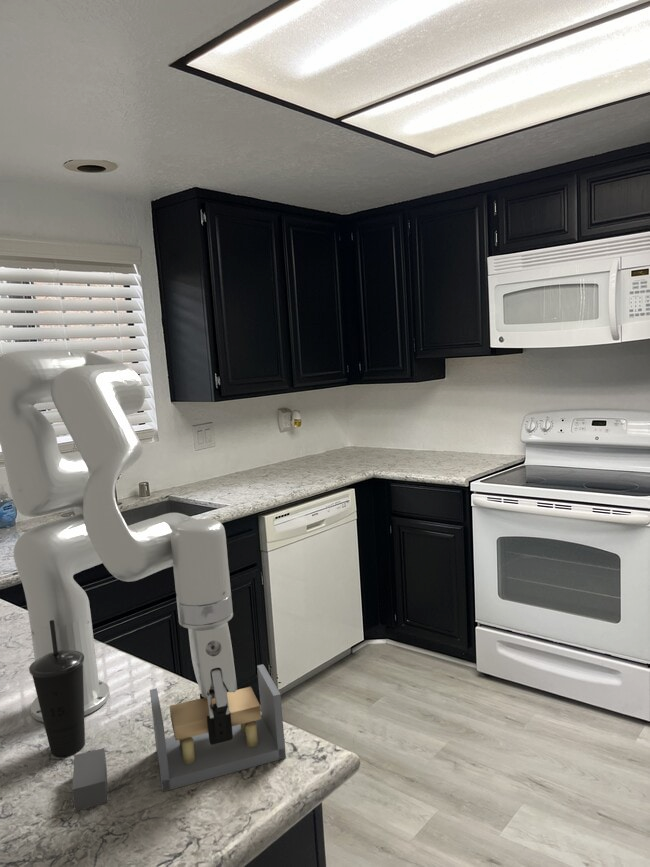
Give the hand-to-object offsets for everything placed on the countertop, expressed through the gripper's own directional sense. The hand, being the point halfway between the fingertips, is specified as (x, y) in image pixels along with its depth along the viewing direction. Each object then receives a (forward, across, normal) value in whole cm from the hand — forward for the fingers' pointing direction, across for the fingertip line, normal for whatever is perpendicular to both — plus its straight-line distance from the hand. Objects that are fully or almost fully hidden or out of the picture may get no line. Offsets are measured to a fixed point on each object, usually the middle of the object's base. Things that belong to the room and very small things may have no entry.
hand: (217, 727), depth 93 cm
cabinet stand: (+4, 0, 0) cm, 4 cm away
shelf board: (-1, 0, 0) cm, 1 cm away
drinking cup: (+4, +12, +21) cm, 25 cm away
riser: (+4, 0, +18) cm, 18 cm away
